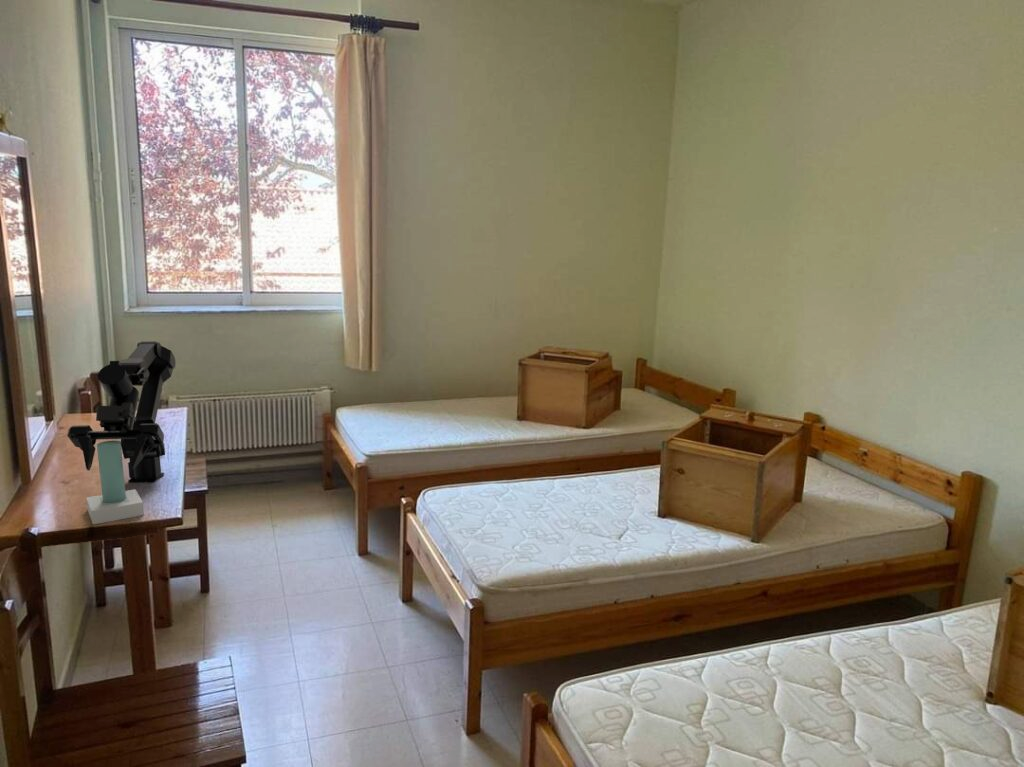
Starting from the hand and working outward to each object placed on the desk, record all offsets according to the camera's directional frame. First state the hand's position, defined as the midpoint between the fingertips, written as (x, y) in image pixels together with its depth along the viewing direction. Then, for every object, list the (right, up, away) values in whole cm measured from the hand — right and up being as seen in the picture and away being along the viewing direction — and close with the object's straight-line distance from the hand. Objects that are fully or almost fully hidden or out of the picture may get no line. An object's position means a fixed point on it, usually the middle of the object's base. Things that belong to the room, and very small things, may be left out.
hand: (110, 468), depth 162 cm
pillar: (0, -7, +2) cm, 7 cm away
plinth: (0, -10, +3) cm, 10 cm away
